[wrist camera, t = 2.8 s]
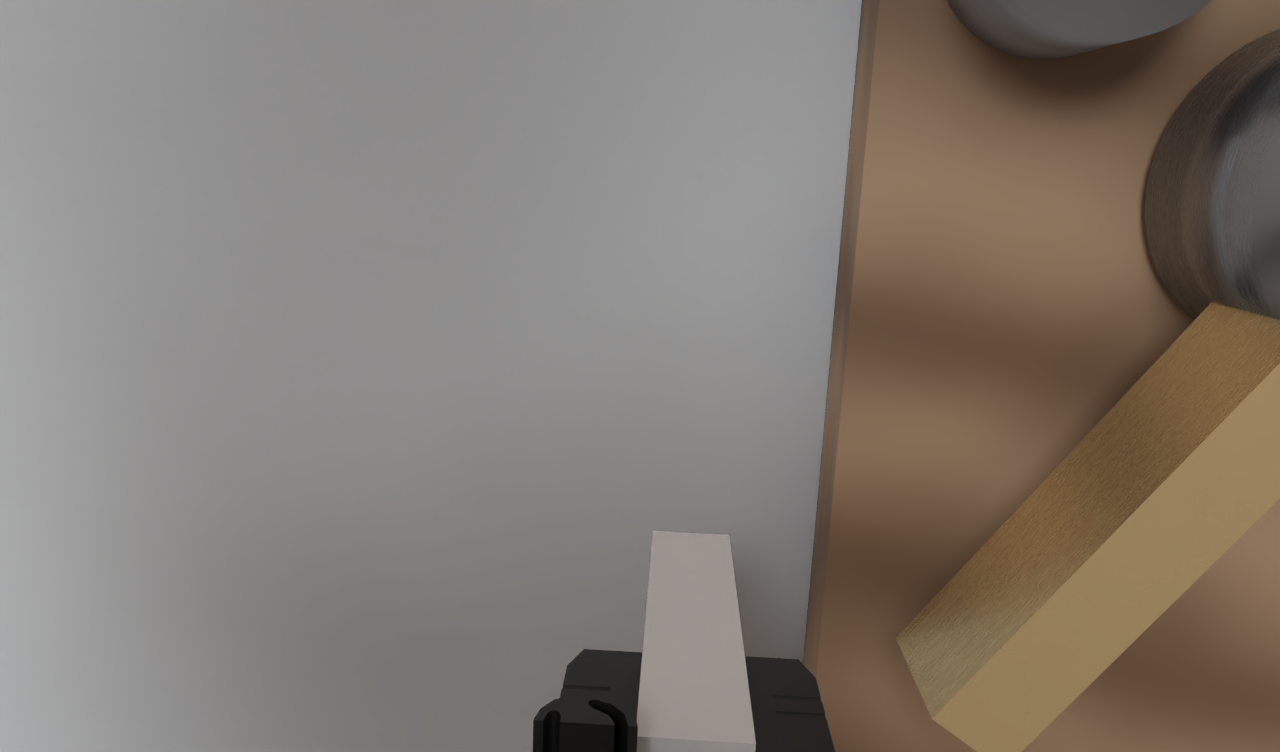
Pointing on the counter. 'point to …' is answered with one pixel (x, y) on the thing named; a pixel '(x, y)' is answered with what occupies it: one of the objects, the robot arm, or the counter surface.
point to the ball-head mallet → (1137, 444)
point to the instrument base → (1013, 352)
